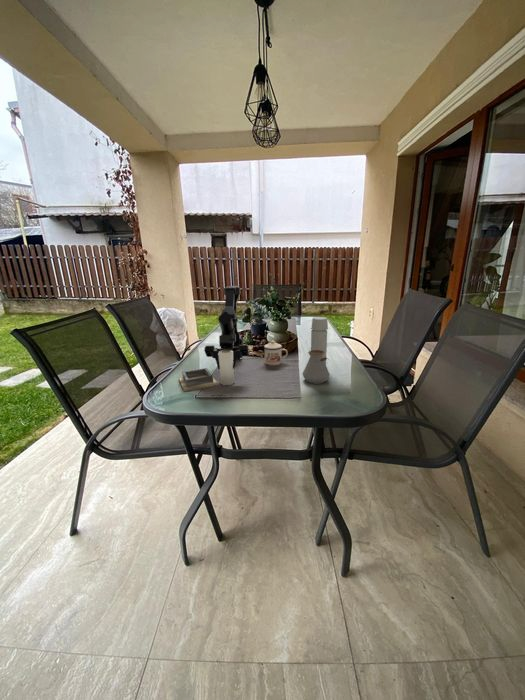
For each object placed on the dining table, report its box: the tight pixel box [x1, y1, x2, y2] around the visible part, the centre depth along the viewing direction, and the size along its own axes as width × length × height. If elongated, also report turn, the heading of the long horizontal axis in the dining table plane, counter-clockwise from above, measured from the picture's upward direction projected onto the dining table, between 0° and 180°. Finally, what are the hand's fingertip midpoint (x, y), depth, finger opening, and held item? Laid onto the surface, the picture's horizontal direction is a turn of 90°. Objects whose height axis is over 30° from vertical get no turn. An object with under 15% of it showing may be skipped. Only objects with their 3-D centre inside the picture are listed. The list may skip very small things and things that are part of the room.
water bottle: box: [310, 316, 329, 365], centre depth 133 cm, size 9×8×25 cm
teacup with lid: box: [263, 340, 289, 366], centre depth 147 cm, size 12×9×12 cm
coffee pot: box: [302, 349, 330, 385], centre depth 118 cm, size 21×12×15 cm, turn 3°
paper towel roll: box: [218, 350, 235, 386], centre depth 122 cm, size 6×6×14 cm
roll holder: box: [178, 367, 219, 392], centre depth 125 cm, size 14×14×4 cm
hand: (226, 368), depth 121 cm, fingers closed on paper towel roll, 6 cm apart
